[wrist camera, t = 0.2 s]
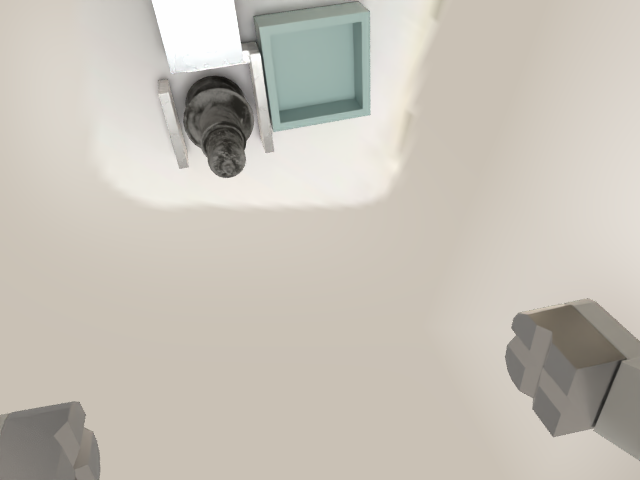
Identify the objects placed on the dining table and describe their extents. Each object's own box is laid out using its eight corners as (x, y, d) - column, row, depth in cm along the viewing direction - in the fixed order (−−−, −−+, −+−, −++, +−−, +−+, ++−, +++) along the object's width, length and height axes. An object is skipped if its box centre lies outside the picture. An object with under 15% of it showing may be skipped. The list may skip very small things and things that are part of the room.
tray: (253, 16, 42) (259, 27, 40) (358, 1, 43) (369, 11, 41) (268, 117, 48) (273, 132, 45) (360, 101, 49) (370, 114, 47)
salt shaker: (176, 127, 46) (179, 199, 37) (189, 64, 43) (197, 126, 34) (239, 140, 48) (257, 212, 39) (256, 82, 45) (280, 145, 36)
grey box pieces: (129, -23, 38) (126, -9, 35) (243, -38, 39) (251, -26, 36) (178, 152, 48) (179, 177, 44) (268, 136, 49) (277, 159, 45)
